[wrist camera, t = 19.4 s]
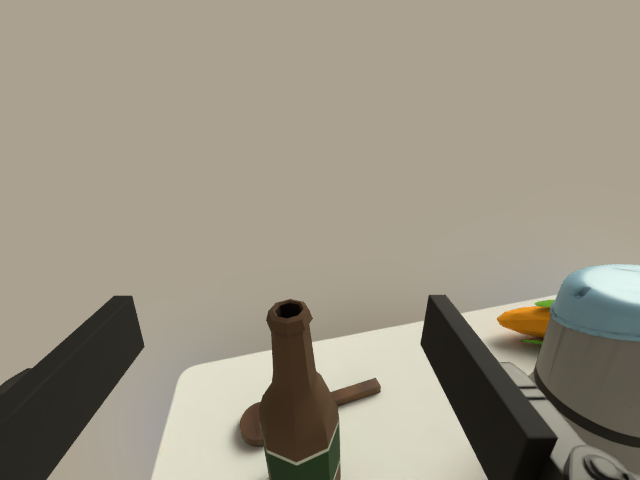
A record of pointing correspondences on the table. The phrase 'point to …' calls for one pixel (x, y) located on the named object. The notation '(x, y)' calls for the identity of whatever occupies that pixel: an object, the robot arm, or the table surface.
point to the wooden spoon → (251, 415)
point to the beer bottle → (297, 403)
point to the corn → (528, 320)
